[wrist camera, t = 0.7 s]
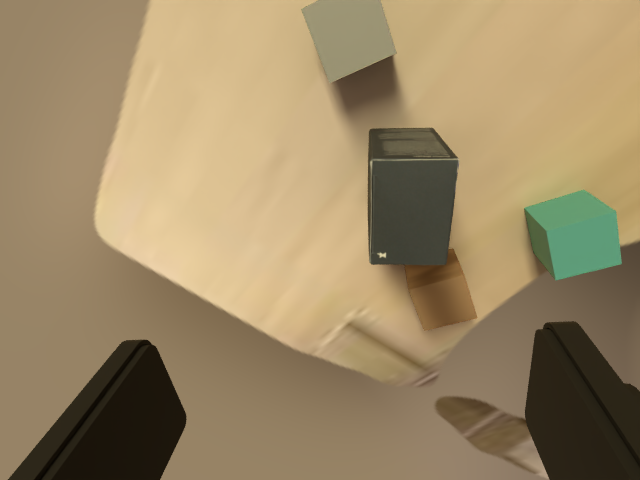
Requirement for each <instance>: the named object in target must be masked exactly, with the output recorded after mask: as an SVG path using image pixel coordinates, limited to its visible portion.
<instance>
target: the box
mask: <svg viewBox="0 0 640 480" xmlns="http://www.w3.org/2000/svg"><path fill="white" fill-rule="evenodd" d="M458 167H459V158H458V157H456V155H455V154H454V153H453V152H452V150H451V149H450V148H449V147H448V146H447V144H446V143H445V142H444V141H443V140H442V138H441V137H440V136H439V135H438V133H437V132H436V131H435V130H434V129H433V128H389V129H370V131H369V151H368V236H369V239H368V240H369V262H370V263H371V264H372V265H375V264H393V265H446V263H447V257H448V247H449V240H450V232H451V223H452V215H453V207H454V199H455V190H456V182H457V174H458Z"/></svg>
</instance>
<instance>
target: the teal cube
mask: <svg viewBox="0 0 640 480" xmlns="http://www.w3.org/2000/svg"><path fill="white" fill-rule="evenodd" d="M524 210H525V214H526V219H527V224H528V229H529V233H530V238H531V243H532V247H533V252H534V254H535V255H536V256H537V258H538V259H539V260H540V261H541V263H542V264H543V265H544V266H545V268H546V269H547V270H548V271H549V273H550V274H551V275H552V276H553V277H554V279H555V280H560V279H564V278H568V277H571V276H575V275H579V274H584V273H588V272H591V271H596V270H599V269H603V268H607V267H611V266H615V265H619V264H622V263H621V254H620V244H619V234H618V225H617V215H616V211H615V210H613V209H612V208H610V207H609V206H607V205H606V204H604V203H603V202H601V201H600V200H599V199H597V198H596V197H594V196H593V195H591V194H590V193H588V192H587V191H585V190H581V191H578V192H575V193H572V194H568V195H565V196H562V197H559V198H555V199H552V200H549V201H545V202H542V203H539V204H536V205H532V206H529V207H526V208H524Z"/></svg>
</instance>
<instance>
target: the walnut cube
mask: <svg viewBox="0 0 640 480" xmlns="http://www.w3.org/2000/svg"><path fill="white" fill-rule="evenodd" d="M405 271H406V277H407V283H408V289H409V292H410V295H411V298H412V300H413V303H414V305H415V308H416V311H417V313H418V316H419V319H420V321H421V324H422V326H423V329H424V331H425V330H430V329H434V328H438V327H442V326H446V325H451V324H455V323H459V322H463V321H467V320H471V319H476V318H477V315H476V312H475V309H474V305H473V302H472V299H471V296H470V292H469V289H468V286H467V282H466V279H465V276H464V273H463V271H462V268H461V266H460V264H459V261H458V259H457V256H456V254H455V252H454V249H449V250H448V257H447V263H446V265H405Z"/></svg>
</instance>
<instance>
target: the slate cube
mask: <svg viewBox="0 0 640 480" xmlns="http://www.w3.org/2000/svg"><path fill="white" fill-rule="evenodd" d="M301 10H302V13H303V15H304V18H305V20H306V23H307V26H308V28H309V31H310V34H311V36H312V39H313V41H314V44H315V47H316V49H317V52H318V54H319V57H320V60H321V62H322V65H323V68H324V70H325V73H326V75H327V78H328V81H329V83H332V82H334V81H336V80H338V79H340V78H343V77H345V76H347V75H349V74H352V73H354V72H356V71H358V70H360V69H363V68H365V67H367V66H369V65H372V64H374V63H376V62H378V61H380V60H383V59H385V58H387V57H389V56H392V55H394V54H396V49H395V46H394V43H393V40H392V36H391V33H390V30H389V26H388V23H387V20H386V17H385V13H384V10H383V7H382V3H381V0H318V1H316V2H314V3H312V4H310V5H308V6H306V7H305V8H303V9H301Z"/></svg>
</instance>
